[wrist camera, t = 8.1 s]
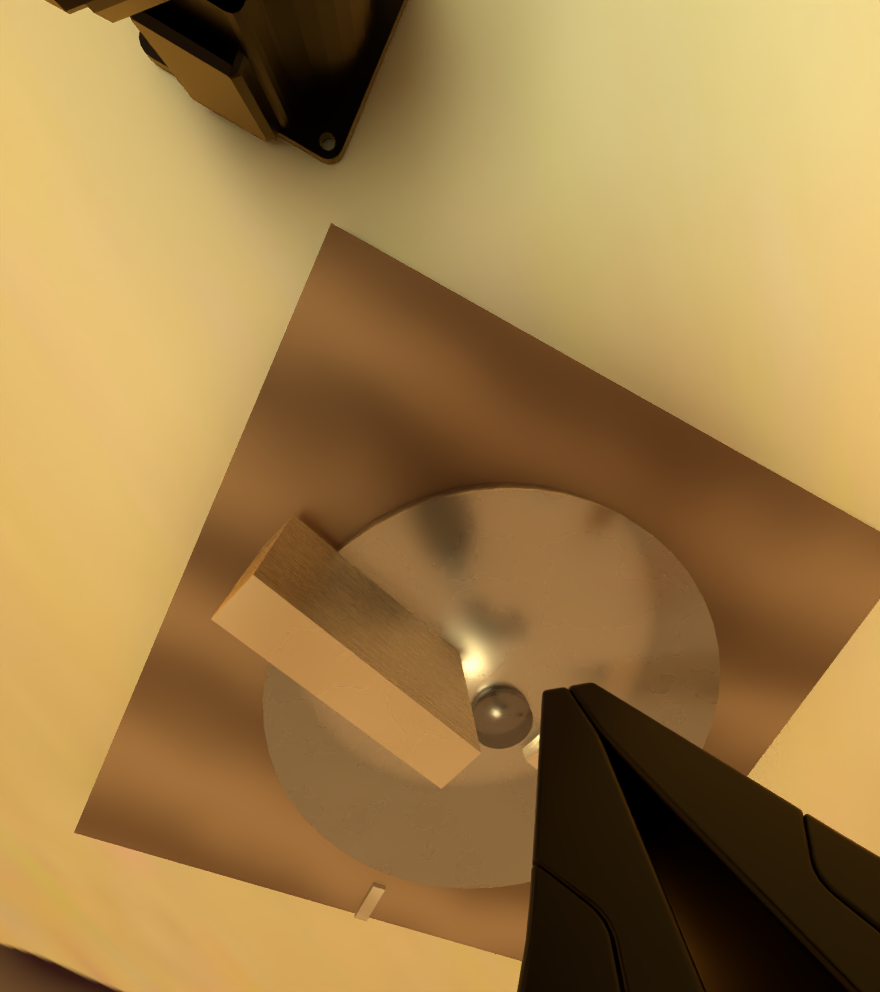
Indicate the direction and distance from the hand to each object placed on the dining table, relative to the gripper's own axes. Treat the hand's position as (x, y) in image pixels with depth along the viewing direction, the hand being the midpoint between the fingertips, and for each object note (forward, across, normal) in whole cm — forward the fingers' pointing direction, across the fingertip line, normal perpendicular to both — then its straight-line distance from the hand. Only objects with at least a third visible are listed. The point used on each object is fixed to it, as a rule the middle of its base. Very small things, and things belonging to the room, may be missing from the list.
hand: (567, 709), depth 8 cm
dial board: (+13, 0, +8) cm, 15 cm away
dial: (+11, 0, +8) cm, 13 cm away
